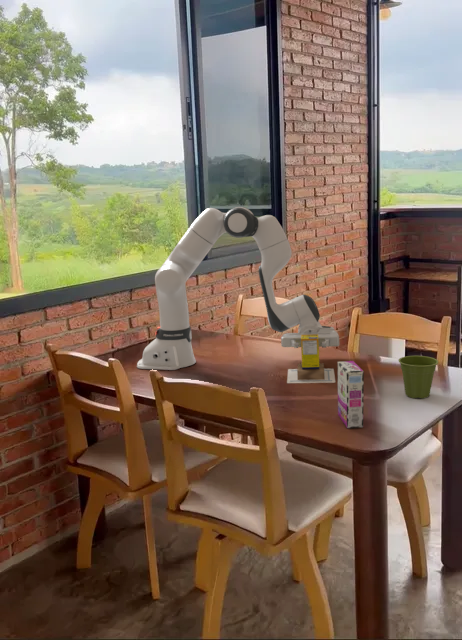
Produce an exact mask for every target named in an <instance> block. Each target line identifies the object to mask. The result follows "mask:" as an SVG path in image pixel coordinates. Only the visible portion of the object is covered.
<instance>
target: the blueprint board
mask: <svg viewBox="0 0 462 640" xmlns="http://www.w3.org/2000/svg"><path fill="white" fill-rule="evenodd" d="M297 369H298V368H287V379H286V384H321V383H323V384H326V383H327V384H333V383H336V376H335V370H334V368H324V379H321V380H298V376H297Z"/></svg>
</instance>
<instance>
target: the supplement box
mask: <svg viewBox="0 0 462 640" xmlns="http://www.w3.org/2000/svg"><path fill="white" fill-rule="evenodd" d="M300 348H301V364H302V369H319V363H320V347H319V338H318V334H312V335H301V347H300Z"/></svg>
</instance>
